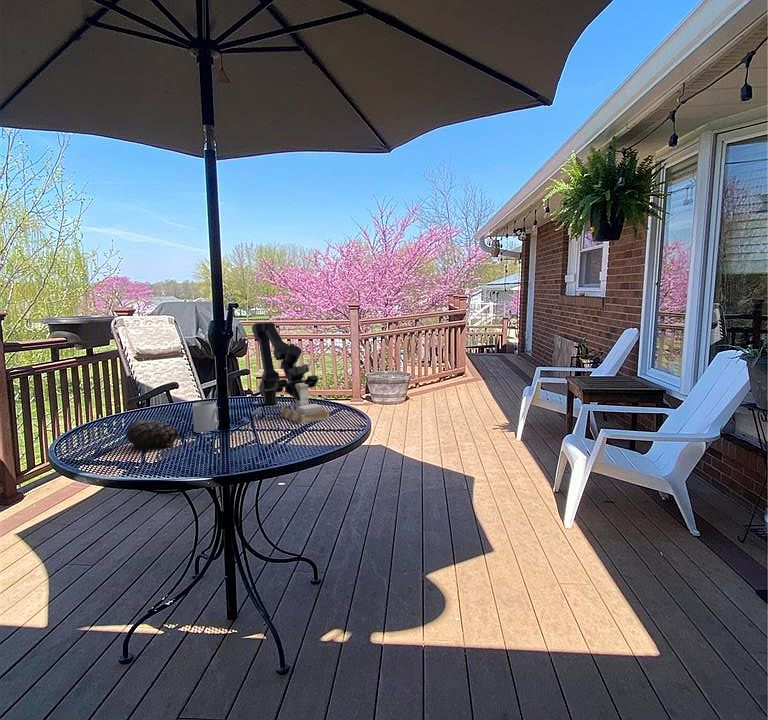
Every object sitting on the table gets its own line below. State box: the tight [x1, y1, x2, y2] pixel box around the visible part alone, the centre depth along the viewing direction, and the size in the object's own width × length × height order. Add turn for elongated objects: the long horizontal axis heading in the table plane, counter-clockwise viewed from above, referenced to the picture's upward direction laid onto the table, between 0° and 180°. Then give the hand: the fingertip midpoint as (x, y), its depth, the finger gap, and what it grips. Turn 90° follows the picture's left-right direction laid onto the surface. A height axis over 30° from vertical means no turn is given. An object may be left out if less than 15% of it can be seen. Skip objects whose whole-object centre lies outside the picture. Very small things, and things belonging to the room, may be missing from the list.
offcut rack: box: [279, 403, 332, 425], centre depth 200 cm, size 20×14×4 cm
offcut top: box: [298, 403, 323, 415], centre depth 196 cm, size 6×8×2 cm
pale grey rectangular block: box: [295, 383, 310, 412], centre depth 201 cm, size 5×4×13 cm
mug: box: [192, 400, 220, 433], centre depth 183 cm, size 12×8×11 cm
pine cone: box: [125, 418, 180, 451], centre depth 167 cm, size 10×18×10 cm, turn 93°
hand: (303, 399), depth 200 cm, fingers closed on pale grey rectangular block, 3 cm apart
